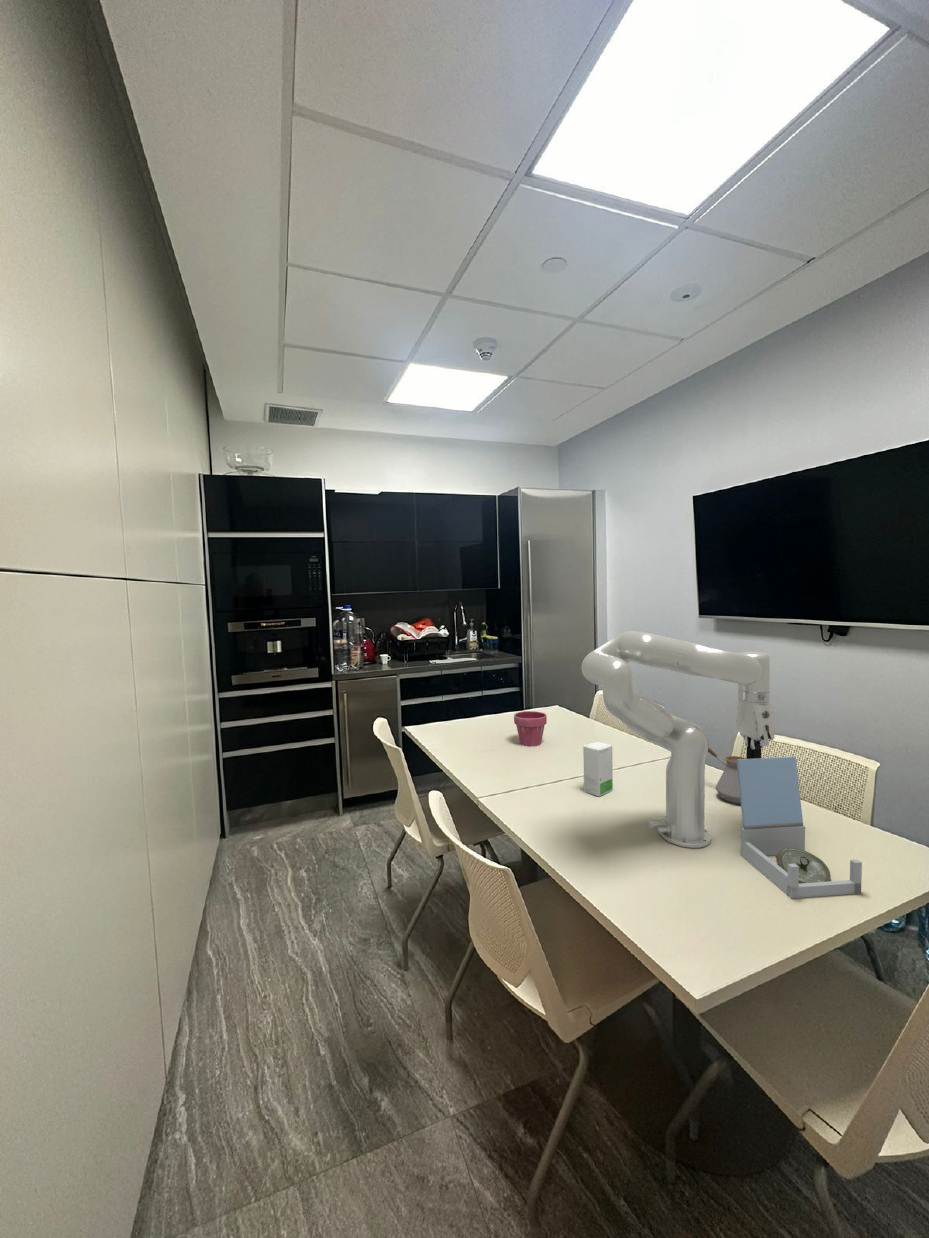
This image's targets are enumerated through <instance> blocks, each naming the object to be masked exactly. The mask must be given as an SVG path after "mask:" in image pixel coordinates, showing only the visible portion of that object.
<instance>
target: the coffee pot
mask: <svg viewBox="0 0 929 1238" xmlns="http://www.w3.org/2000/svg"><path fill="white" fill-rule="evenodd" d="M708 753H709V754H710V755H712V756H713V757H714V758H716V759H717V760H718V761H720V762H721V763H722V764H723V765H724V766H725V768H724V770H723V772H722V774H721V776H720V777H719V779H718V781H717V783H716V785H715V790H716V792H717V793H718V795H719V796H720V797H721V798H722V799H723V800H724V801H727V802H728V803H732V804H736V805H741V801H740V791H739V781H738V771H737V759H747V757H746V758H745V757H744V756H743V757H742V756H736V755H728V756H725V757H724V760H723V758H721V757H720V756H718V755H717V753H715V751H713V749H711V748H710V747H709V748H708Z"/></svg>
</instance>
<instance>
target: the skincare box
mask: <svg viewBox="0 0 929 1238" xmlns="http://www.w3.org/2000/svg"><path fill="white" fill-rule="evenodd" d="M582 748H583V750H582V751H583V792H584V793H587V794H590V795H592V796H595V797H599V798H600V797H602V796H605V795H606V794H609V793H610V792H613V791H614V784H613V783H614V776H613V775H614V773H613V772H614V771H613V766H614V765H613V764H614V763H613V762H614V761H613V744H610V743H605V742H600V741H596V742H590V743H588V744H585V745H583V746H582Z"/></svg>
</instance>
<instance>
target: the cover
mask: <svg viewBox="0 0 929 1238" xmlns="http://www.w3.org/2000/svg"><path fill="white" fill-rule="evenodd" d="M797 764H798V763H797V757H796V756H781V757H779V756H778V757H761V758H756V759H747V758H746V759H737V771H738V781H739V791H740V801H741V804H740V810H741V821H742V828H744V829H747V828H763V827H780V826H796V825H804V820H803V811H802V804H801V803H802V801H801V792H800V791H801V790H800V784H799V783H800V782H799V774H798V767H797V766H798V765H797Z"/></svg>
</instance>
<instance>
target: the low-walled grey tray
mask: <svg viewBox="0 0 929 1238" xmlns="http://www.w3.org/2000/svg"><path fill="white" fill-rule="evenodd" d="M785 848H797V849H800V850H804V851H806V826H805V825H804V824H803V825H796V826H780V827H763V828H747V829H744V828H743V827H741V828H740V856H741V857H743V858H744V860H745V861H747V862H748V863H750V864H751V865H752V866H753V867H754V868H755V869H756V870H757V871H759V872H760V874H762V875H763V876H765V877H766V878H767V879H768V880H769V881H770V882H771V883H773V884H774V885H775V886H776V887H777V888H778V889H780V890H781V891H782V892H783V893H784V894H786V895H787V896H788V897H789V898H790V899H802V898H803V899H804V898H815V897H817V898H818V897H830V896H842V895H843V896H845V895H859V894H862V877H863V876H862V874H863V873H862V869H863V862H862V861H860V860H859V859H850V861H849V879H845V880H832V881H831V880H830V881H829V882H815V883H801V884H799V866H797V865H796V864H788V873H787V872H786V871H785V870H783V869H782V868H781V867H780V866H778V864H777V862H774V861H773V860H772V859H771V858H769V857H772V856H773V857H774V856H775V857H776V855H777V853H778V852H779V851H781V850H783V849H785Z"/></svg>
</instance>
